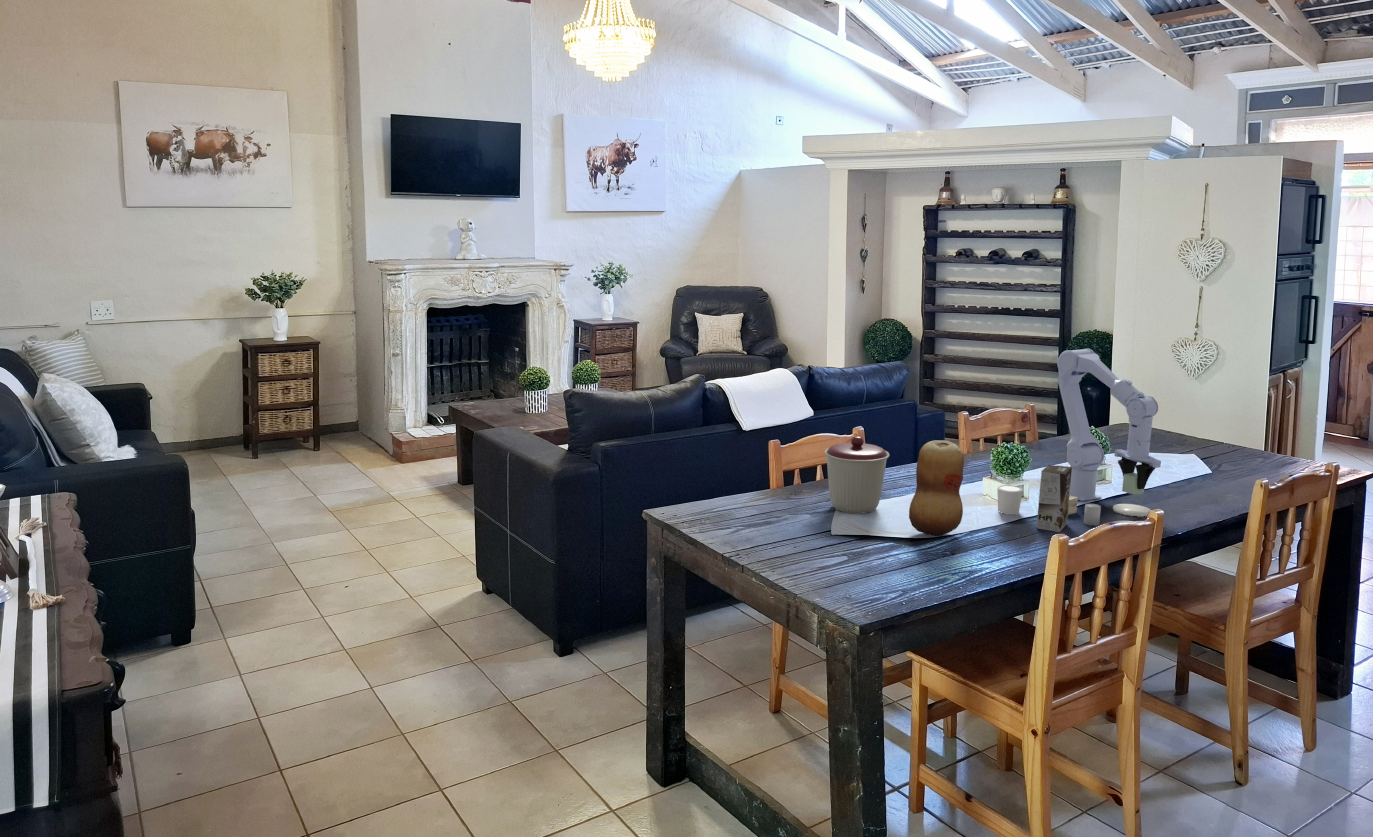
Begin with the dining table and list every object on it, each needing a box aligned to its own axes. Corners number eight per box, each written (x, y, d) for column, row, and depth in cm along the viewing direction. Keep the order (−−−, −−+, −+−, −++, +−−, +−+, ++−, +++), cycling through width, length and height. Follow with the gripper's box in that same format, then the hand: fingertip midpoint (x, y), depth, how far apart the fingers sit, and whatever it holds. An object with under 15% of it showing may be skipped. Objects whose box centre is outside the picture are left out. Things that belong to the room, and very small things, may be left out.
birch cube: (1053, 511, 288) (1054, 496, 287) (1062, 509, 291) (1063, 493, 290) (1067, 515, 285) (1068, 500, 284) (1076, 512, 287) (1077, 497, 287)
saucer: (1104, 508, 291) (1105, 506, 291) (1131, 504, 295) (1131, 502, 295) (1132, 518, 282) (1132, 515, 282) (1159, 514, 286) (1159, 511, 286)
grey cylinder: (1080, 522, 279) (1081, 504, 278) (1091, 520, 280) (1093, 503, 279) (1091, 526, 275) (1092, 508, 274) (1102, 524, 277) (1104, 507, 276)
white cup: (1008, 516, 283) (1010, 492, 281) (990, 510, 289) (992, 486, 287) (1026, 513, 286) (1028, 489, 285) (1008, 507, 292) (1010, 483, 290)
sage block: (1122, 491, 288) (1123, 474, 287) (1132, 489, 290) (1134, 472, 289) (1133, 494, 285) (1135, 477, 284) (1143, 493, 286) (1145, 476, 285)
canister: (898, 508, 290) (902, 436, 285) (863, 522, 277) (866, 447, 272) (845, 496, 302) (848, 426, 297) (809, 508, 289) (812, 436, 284)
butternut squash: (928, 545, 258) (934, 450, 253) (898, 530, 270) (902, 438, 265) (972, 539, 264) (979, 445, 258) (940, 524, 276) (946, 434, 270)
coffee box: (1060, 532, 269) (1065, 474, 266) (1035, 528, 273) (1040, 470, 269) (1068, 524, 277) (1073, 466, 273) (1043, 520, 280) (1048, 463, 277)
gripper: (1108, 435, 289) (1104, 481, 292) (1149, 446, 276) (1144, 494, 279) (1126, 433, 292) (1122, 479, 295) (1168, 444, 279) (1163, 492, 282)
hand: (1134, 486), depth 287 cm, fingers closed on sage block, 4 cm apart
